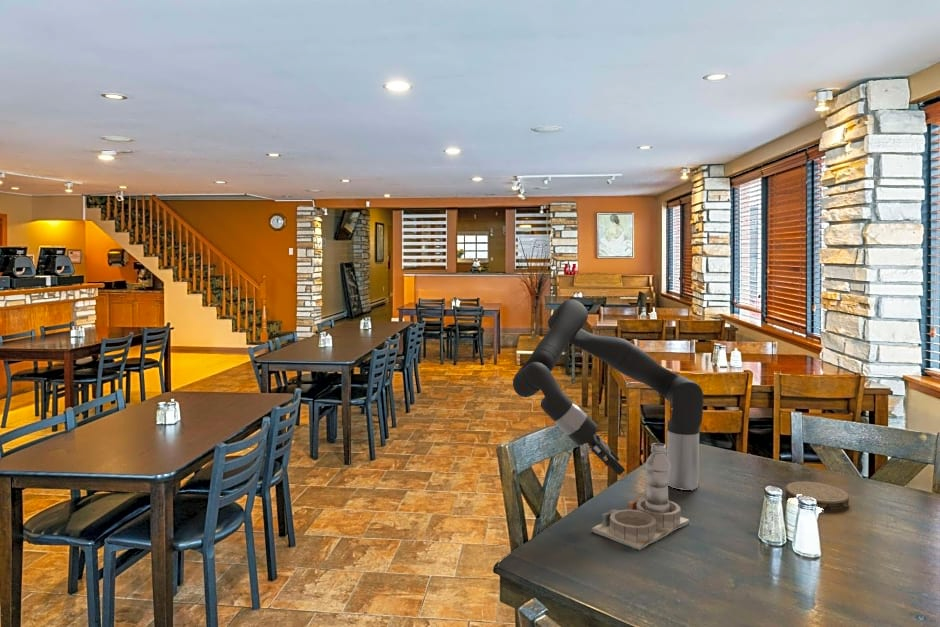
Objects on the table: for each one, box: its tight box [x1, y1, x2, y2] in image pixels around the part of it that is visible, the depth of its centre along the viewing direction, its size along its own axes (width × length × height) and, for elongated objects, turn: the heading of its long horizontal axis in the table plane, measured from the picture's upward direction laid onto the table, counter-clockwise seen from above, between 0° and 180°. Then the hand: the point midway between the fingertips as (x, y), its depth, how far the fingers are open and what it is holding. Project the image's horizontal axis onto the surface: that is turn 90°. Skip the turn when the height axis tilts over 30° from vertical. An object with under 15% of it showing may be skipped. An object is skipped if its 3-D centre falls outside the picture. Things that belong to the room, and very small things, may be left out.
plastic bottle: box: [645, 442, 671, 513], centre depth 168 cm, size 6×7×20 cm
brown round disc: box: [785, 481, 850, 512], centre depth 184 cm, size 16×16×3 cm
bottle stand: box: [591, 497, 690, 548], centre depth 166 cm, size 23×14×5 cm, turn 131°
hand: (619, 466), depth 168 cm, fingers open, 8 cm apart
